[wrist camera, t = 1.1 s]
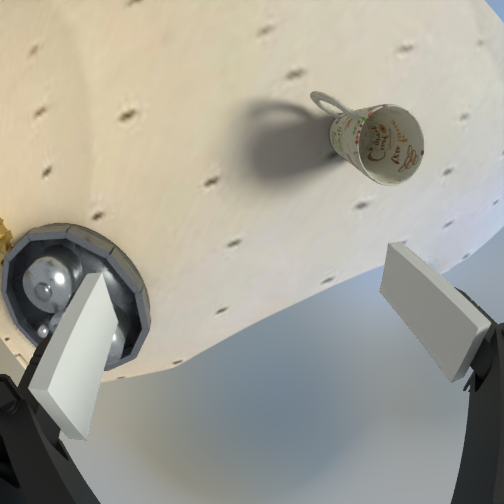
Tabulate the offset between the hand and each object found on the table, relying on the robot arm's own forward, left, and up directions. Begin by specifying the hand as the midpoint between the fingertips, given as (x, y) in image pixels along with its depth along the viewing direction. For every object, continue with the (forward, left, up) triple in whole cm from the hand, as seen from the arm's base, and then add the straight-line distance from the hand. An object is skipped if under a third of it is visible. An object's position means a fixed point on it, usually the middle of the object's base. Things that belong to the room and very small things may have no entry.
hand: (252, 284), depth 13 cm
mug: (+1, +15, -25) cm, 29 cm away
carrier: (+3, -28, -25) cm, 38 cm away
